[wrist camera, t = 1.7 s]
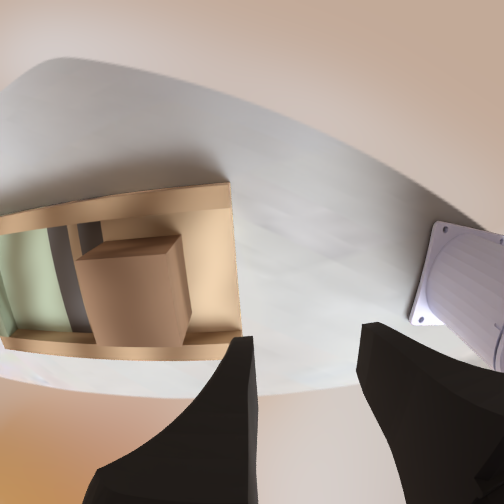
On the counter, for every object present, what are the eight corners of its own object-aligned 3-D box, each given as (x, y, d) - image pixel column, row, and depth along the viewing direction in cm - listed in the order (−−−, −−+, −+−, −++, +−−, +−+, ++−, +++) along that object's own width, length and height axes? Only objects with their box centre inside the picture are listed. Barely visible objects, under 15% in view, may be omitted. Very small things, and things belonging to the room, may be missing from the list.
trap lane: (230, 182, 18) (228, 184, 15) (242, 337, 21) (243, 358, 18) (-12, 218, 17) (-31, 224, 15) (19, 334, 20) (5, 348, 18)
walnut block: (181, 234, 18) (165, 254, 14) (192, 312, 19) (181, 347, 15) (104, 241, 17) (74, 260, 14) (120, 314, 19) (97, 346, 15)
